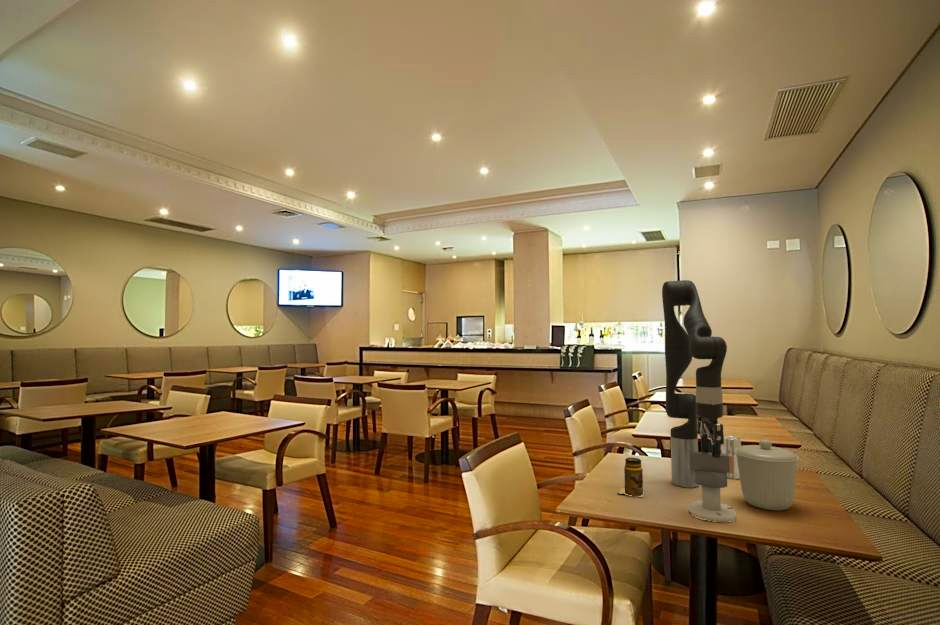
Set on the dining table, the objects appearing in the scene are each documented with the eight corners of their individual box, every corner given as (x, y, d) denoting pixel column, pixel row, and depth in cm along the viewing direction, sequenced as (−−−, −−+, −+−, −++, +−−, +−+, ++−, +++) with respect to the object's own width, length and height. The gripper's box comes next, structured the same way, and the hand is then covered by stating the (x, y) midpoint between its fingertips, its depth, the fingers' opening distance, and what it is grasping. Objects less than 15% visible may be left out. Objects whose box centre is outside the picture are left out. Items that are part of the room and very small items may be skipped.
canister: (765, 518, 144) (763, 447, 145) (722, 497, 162) (721, 435, 163) (816, 513, 148) (813, 444, 149) (768, 494, 165) (766, 432, 166)
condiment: (642, 498, 162) (641, 462, 162) (616, 494, 166) (616, 459, 166) (645, 492, 168) (645, 457, 169) (621, 488, 172) (620, 454, 173)
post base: (682, 506, 154) (681, 477, 155) (724, 507, 153) (724, 479, 153) (697, 522, 141) (696, 491, 142) (743, 523, 140) (742, 492, 140)
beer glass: (717, 475, 187) (716, 436, 188) (729, 473, 190) (728, 435, 191) (734, 480, 181) (732, 440, 181) (746, 477, 184) (745, 438, 184)
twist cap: (691, 485, 145) (690, 455, 146) (688, 477, 154) (687, 448, 154) (736, 489, 141) (735, 458, 142) (730, 480, 150) (729, 451, 150)
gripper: (688, 397, 156) (689, 447, 155) (705, 404, 142) (706, 459, 141) (712, 397, 155) (713, 448, 155) (731, 404, 141) (733, 460, 140)
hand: (710, 453), depth 148 cm, fingers open, 8 cm apart
